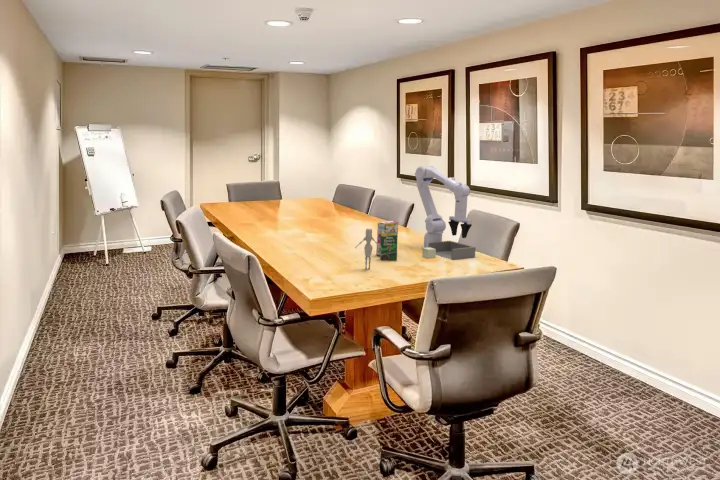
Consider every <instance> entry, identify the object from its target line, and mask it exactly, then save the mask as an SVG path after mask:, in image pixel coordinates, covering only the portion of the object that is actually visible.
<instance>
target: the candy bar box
mask: <svg viewBox="0 0 720 480" xmlns="http://www.w3.org/2000/svg"><path fill="white" fill-rule="evenodd" d="M381 232H385V233H392V232H397V239H398V234H399V221H395V220H386V221H380V222H379V221H378V222H377V233H376V236H377V237H376V242H377V243H378V244H379V245H380V233H381ZM379 245H377V244H376V252H375V255H376V256H378V257H380V246H379Z"/></svg>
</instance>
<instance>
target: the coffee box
mask: <svg viewBox="0 0 720 480" xmlns="http://www.w3.org/2000/svg"><path fill="white" fill-rule="evenodd" d="M380 246H381V247H380V256H379V259H380V261H397V260H398V238H397V232H392V233H385V232H381V233H380Z"/></svg>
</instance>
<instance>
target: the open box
mask: <svg viewBox="0 0 720 480" xmlns="http://www.w3.org/2000/svg"><path fill="white" fill-rule="evenodd" d="M428 247H431V248H434V249H436V256H438V257H442V258H445V259H449V260H451V261H455V260H464V259H472V258H473V259H474V258H476V247H475V246H472V245H467V244H464V243H460V242H457V241H452V240H442V241H441V242H430V243H429V244H428Z"/></svg>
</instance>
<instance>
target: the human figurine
mask: <svg viewBox="0 0 720 480" xmlns="http://www.w3.org/2000/svg"><path fill="white" fill-rule="evenodd" d="M364 241H366V243H365V245H364V249H363V250H364V255H365V257H364V259H365V263H364V264H365V265H364V266H365V268H364V269H365V270H367V269H368V270H371V260H372V258H371V256H372V251H373V245H372V244H371V242H372V241H373V242H375V244H376V246H377V245H379V244H378V243H377V240H375V238H374V237H373V229H372V228H366V229H365V236H364V238H363V239H362V240H361V241H359V243H358V244H357V245H356V246H355V247H354V249H357V247H359V246H360V245H361V244H362V243H363V242H364ZM379 246H380V245H379ZM380 247H381V246H380ZM367 265H368V268H367Z"/></svg>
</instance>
